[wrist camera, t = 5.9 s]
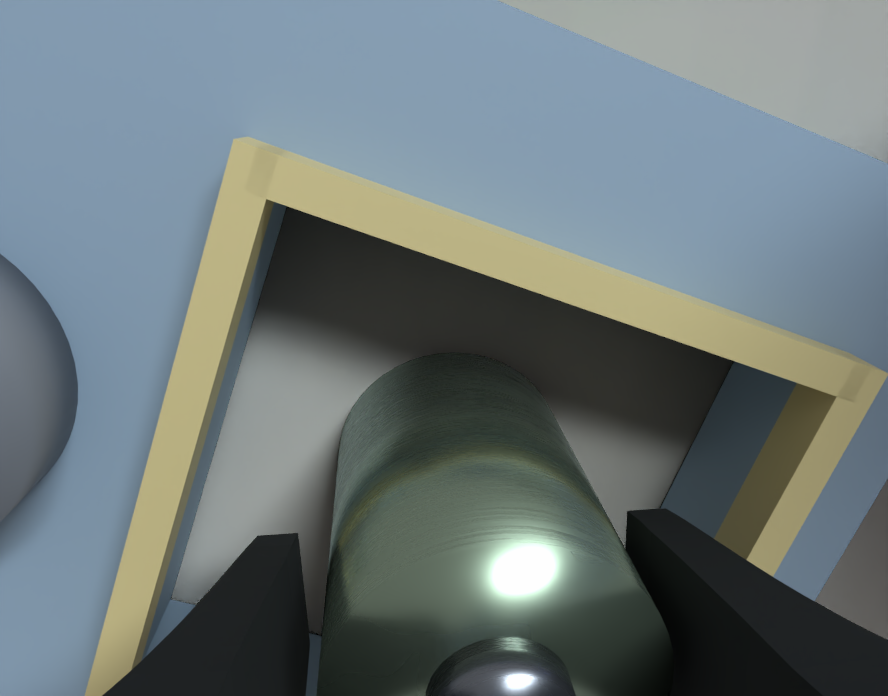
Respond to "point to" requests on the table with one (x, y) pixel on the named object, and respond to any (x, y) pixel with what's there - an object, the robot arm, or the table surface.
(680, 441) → the table surface
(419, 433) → the spout can
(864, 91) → the table surface
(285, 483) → the table surface
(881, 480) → the control panel
